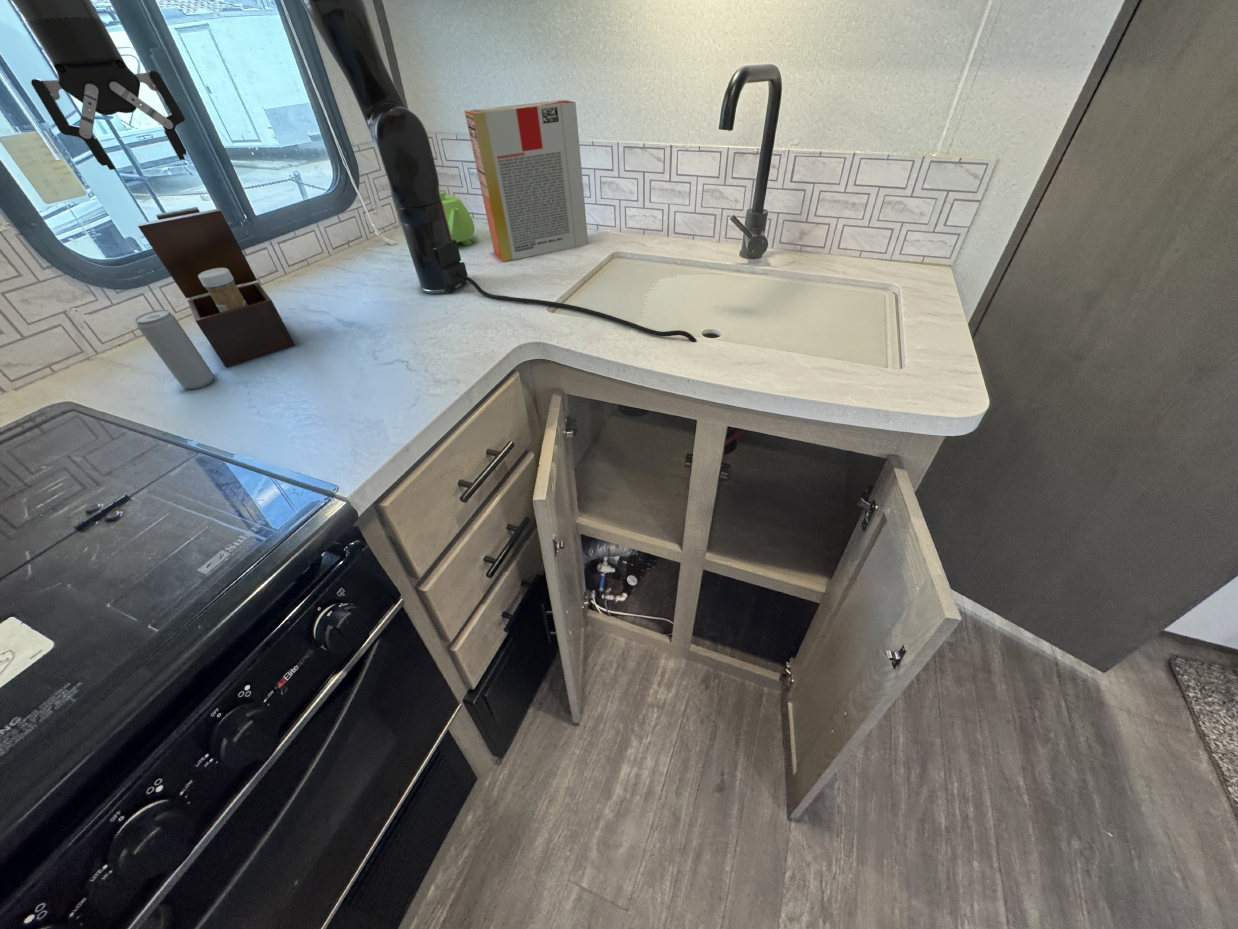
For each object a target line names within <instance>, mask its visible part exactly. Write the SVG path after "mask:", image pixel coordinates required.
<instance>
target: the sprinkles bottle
mask: <svg viewBox="0 0 1238 929" xmlns="http://www.w3.org/2000/svg"><path fill="white" fill-rule="evenodd" d="M198 278H199V279H200V281H201V283H202V285H203V286H204V287H206V289H207V290H208V292H209V294H210V295H211V297H212V299H213V300H214V302H215V304H216V306H217V308H218V309H219V311H220V312H225V311H228V310H232V309H236V308H239V307H243V306H247V305H248V304H247V303H246V301H245V300H244V298H243V296H242V295H241V293H240V291H239V289H238V288H237V287H238V285H237V286H236V284H235V281H234V278H233V276H232V275H231V273H230V271H229V270H228V269H227V268H215V269H210V270H207V271H204V272H202V273H200V274H199V275H198Z"/></svg>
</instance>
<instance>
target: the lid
mask: <svg viewBox="0 0 1238 929" xmlns="http://www.w3.org/2000/svg"><path fill="white" fill-rule="evenodd" d="M155 217H156V218H157V219H155V220H152V221H146V222H140V223H136V226H137V228H138V229H139V231H140V232H141V234H142V235H143V237H144V238H145V239H146V241H147V242H148V244H149V245H150V247H151V249H152V250H153V251H154V253H155V255H156V256H157V257H158V258H159V260H160V261H161V263H162V264H163V267H164V268H165V269H166V272H168V274H169V275H170V277H171V278H172V280H173V282H174V283H175V285H177V287H178V289H179V291H180V292H181V293H182V294H183V296H184V298H185V299H189V298H190V297H194V296H198V295H202V294H206V293H209V292H208V290H207V289H206V287H204V286H203V285H202V283H201V281H200V279H199V278H198V275H199V274H200V273H202V272H204V271H207V270H210V269H215V268H227V269H228V270H229V271H230V273H231V275H232V276H233V278H234V281H235V284H236V286H237V287H238V286H242V285H246V284H250V283H254V282H258V280H257V277H256V276H255V273H254V272H253V269H252V267H251V266H250V264H249V262H248V260H247V258H246V256H245V254H244V252H243V251H242V248H241V246H240V245H239V242H238V240H237V239H236V237H235V235H234V233H233V231H232V228H231V227H230V225H229V223H228V221H227V220H226V217H225V215H224V214H223V212H222V210H221V208H215V209H209V210H204V211H200V210H199V207H198V206H194V207H189V208H184V209H179V210H172V211H167V212H162V213H157V214H155Z"/></svg>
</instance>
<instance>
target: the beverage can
mask: <svg viewBox="0 0 1238 929" xmlns="http://www.w3.org/2000/svg"><path fill="white" fill-rule="evenodd" d="M134 323H135V324H136V327H137V328H138V329H139V331H140V333H141V334H142V335H143V337H144V338H145V339H146V340H147V342H148V344H150V346H151V347H152V348H153V350H154V351H155V352H156V354H157V355H158V356H159V358H160V360H162V362H163V363H164V365H165V366H166V367H167V369H168V370H169V372H170V373H171V374H172V375H173V377H174V378H175V380H176V381H177V382H178V384H179V385H180V386H181V387H182V388H184V389H188V390H196V389H200V388H204V387H207V386H208V385H210V384H212V383H213V381H214V378H215V375H214V373H213V371H212V370H211V369H210V367H209V366H208V364H207V362H206V361H205V360H204V358H203V356H202V355H201V354H200V352H199V351H198V349H197V347H196V346H195V345H194V343H193V342H192V340H191V338H190V337H189V336H188V334H187V333H186V331H185V329H184V328H183V327H182V325H181V324H180V322H179V321H178V320H177V317H176V316H175V315H174V314H173V313H171V311H170V310H169V309H157V310H151V311H148V312H145V313H142V314H140V315H139V316H137V317H136V318H135V319H134Z"/></svg>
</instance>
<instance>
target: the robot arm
mask: <svg viewBox="0 0 1238 929" xmlns="http://www.w3.org/2000/svg"><path fill="white" fill-rule="evenodd" d="M11 2H12V3H13V5H14V6H15V9H16V11H17V12H18V13H19V15H20V16H21V18H22V19H23V21H24V22H25V24H26V25H27V28H29V30H30V32H31V34H32V35H33V37H34V39H35V40H36V41H37V43H38V44H39V46H40V48H41V50H42V51H43V52H44V54H45V55H46V57H47V59H48V60H49V62H50V64H51V65H52V67H53V69H54V70H55V72H56V75H57V79H44V80H43V79H40V78H33V79H31V81H30V84H31V87H32V88H33V89H34V91H35V92H36V95H37V96H38V97H39V99H40V101H41V103H42V104H43V106H44V108H45V109H46V111H47V112H48V114H49V116H50V118H51V120H52V121H53V123H54V124H55V127H56V128H57V129H58V131H59V133H60V134H62V135H65V136H71V137H76V138H80V139H81V140H83V142H84V143H85V144H86V146H87V148H88V149H89V150H90V152H91V153H92V155H93V157H94V158H95V159H96V162H97V163H99V165H101V166H102V167H105V166H107V168H108V170H109V171H112V170H116V169H117V168H116V166H115V164H114V163H113V162H112V160H111V158H110V157H109V155H108V153H107V151H106V150H105V148H104V147H103V146H102V143H101V142H100V140H99V139H98V137H95V135H94V133H93V131H94V125H95V120H96V119H95V118H96V114H100V115H104V116H113V115H114V114H117V113H121V114H131V113H133V112H135V111H136V110H137V109H138V110H140V111H141V112H143V113H144V114H145V115H147V116H148V117H149V118H151V119H153V121H155V122H157V123H158V124H159V125H161V126H162V128H163V129H162V131H163V132H164V135H165V136H166V138H167V140H168V142H169V143H170V145H171V148H172V149H173V151H174V153H175V154H176V156H177V158H178V159H179V160H180V161H183V160H186V158H185V156H184V155H187V153H188V152H187V149H186V147H185V145H184V143H183V141H182V140H181V138H180V136H179V134H178V132H177V130H176V127H177V126H178V125H179V124H182V123H183V122H185V120H186V118H185V115H184V114H183V112H182V111H181V109H180V107H179V105H178V103H177V102H176V100H175V98H174V97H173V94H172V93H171V91H170V89H169V88H168V86H167V84H166V83H165V81H164V79H163V78H162V76H161V74H160V73H159V72H157V71H156V70H153V69H151V70H149V71H148V72H141V73H134V72H133V71H131V69H130V68H129V67H128V65H127V64H126V62H125V60H124V58H123V56H122V55H121V53H120V52H119V50H118V47H117V46H116V44H115V42H114V40H113V39H112V37H111V35H110V33H109V31H108V30H107V28H106V26H105V24H104V22H103V20H102V18H101V17H100V15H99V13H98V10H97V7H96V6H95V5H94V4H93V2H92V0H11ZM300 2H301V4H302V7H303V8H304V9H305V11H306V13H307V15H308V17H309V18H310V20H311V22H312V23H313V25H314V28H315V29H316V31H317V32H318V35H319V36H320V38H321V39H322V41H323V43H324V45H325V46H326V48H327V50H328V51H329V53H330V54H331V56H332V58H333V60H334V61H335V63H336V64H337V66H338V68H339V69H340V70H341V72H342V74H343V76H344V78H345V79H346V81H347V84H348V86H349V87H350V89H351V91H352V94H353V96H354V98H355V100H356V102H357V105H358V107H359V109H360V112H361V115H362V116H363V119H364V121H365V122H364V123H365V124H366V126H367V130H368V131H369V134H370V137H371V139H372V142H373V144H374V145H375V147H376V149H377V150H378V152H379V155H380V158H381V161H382V164H383V168H384V171H385V174H386V177H387V180H388V184H389V188H390V194H391V197H392V201H393V204H394V206H395V210H396V213H397V216H398V219H399V223H400V226H401V229H402V233H403V235H404V238H405V241H406V245H407V248H408V251H409V255H410V257H411V260H412V263H413V267H414V269H415V273H416V276H417V279H418V282H419V286H420V289H421V291H422V292H423V293H425V294H430V295H432V294H433V295H436V294H437V295H438V294H452V293H453V292H455V291H457V290H458V289H460V288H462V287H463V286H465V285H467V284H468V283H469V284H471V285H472V286H473V287H474V288H475V289H476V290H477V292H479V294H481V295H482V296H484V297H486V298H488V299H492V300H500V301H508V302H513V303H523V304H525V303H526V304H534V305H542V306H549V307H554V308H561V309H567V310H571V311H576V312H580V313H585V314H588V315H591V316H594V317H598V318H601V319H606V320H608V321H611V322H614V323H618V324H619V325H624V326H627V327H629V328H632V329H635V330H638V331H640V332H642V333H646V334H649V335H651V336H652V335H653V336H656V337H675V336H681V337H684V338H687V339H688V340H689V341H690V342H691V343H697V342H698V340H697V339H696V338H695V336H694V335H693V334H691V333H689V331H685V330H681V329H680V330H679V329H678V330H668V331H663V330H662V331H661V330H656V329H653V328H648V327H646V326H642V325H639V324H637V323H634V322H631V321H628V320H625V319H622V318H619V317H617V316H613V315H611V314H607V313H603V312H601V311H597V310H593V309H591V308H585V307H581V306H577V305H573V304H567V303H562V302H557V301H550V300H542V299H536V298H526V297H525V298H524V297H514V296H507V295H499V294H491V293H489V292H487V291H485V290H484V289H482V288H481V286H480V285H479V284H478V283H477V282H476V281H475V280H474V279H473V278H471V277H470V276H469V274H468V272H467V271H468V270H467V266H466V263H465V262H463V261H462V258H461V254H460V250H459V246H458V242H456V240H455V239H452V237H451V233H450V229H449V225H448V222H447V218H446V214H445V210H444V206H443V202H442V198H441V195H440V181H439V175H438V171H437V167H436V163H435V159H434V154H433V150H432V146H431V143H430V138H429V136H428V132H427V130H426V128H425V126H424V123H423V122H422V120H421V119H420V118H419V117H418V116H417V114H415V112H413V111H411V110H409V108H408V107H407V105H406V104H405V102H404V100H403V98H402V97H401V94H400V93H399V91H398V89H397V87H396V85H395V83H394V80H393V79H392V77H391V74H390V73H389V71H388V69H387V66H386V64H385V61H384V58H383V55H382V52H381V49H380V45H379V42H378V39H377V34H376V32H375V29H374V26H373V23H372V20H371V17H370V14H369V11H368V8H367V6H366V3H365V0H300ZM141 83H143V84H145V85H146V86H147V87H148V88H149V90H151V91H153V92H157V93H158V94H159V96H160V98H161V99H162V101H163V102H164V105H165V106H166V108H167V109H168V111H169V114H168V115H166V116H165V115H163V114H162V113H161V112H159V111H157V110H156V109H155V108H154V107H152V106H150V105H149V104H147V103H146V102H145V101H143V100H142V99H140V98H139V97H140V96H139V95H140V90H141ZM60 90H63V91H65V92H66V93H67V94H69V95H70V96H72V97H73V98H75V99H76V100H77V101H79V102H80V103H82V108H81V114H80V120H79V125H75V124H74V125H73V124H70V123H69V121H68V120H67V118H66V116H65V115H64V113H63V112H62V109H61V108H60V106H59V104H58V103H57V101H58V100H60V98H61V94H60Z"/></svg>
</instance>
